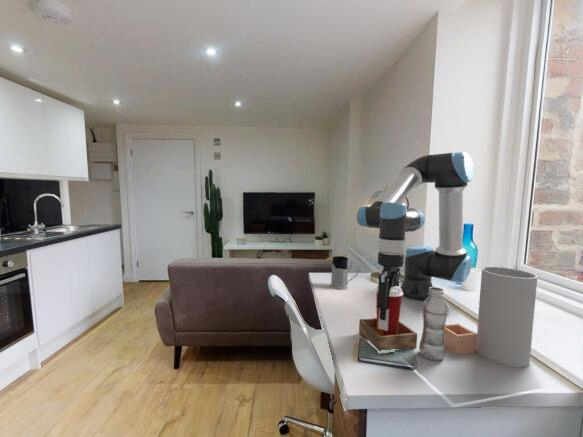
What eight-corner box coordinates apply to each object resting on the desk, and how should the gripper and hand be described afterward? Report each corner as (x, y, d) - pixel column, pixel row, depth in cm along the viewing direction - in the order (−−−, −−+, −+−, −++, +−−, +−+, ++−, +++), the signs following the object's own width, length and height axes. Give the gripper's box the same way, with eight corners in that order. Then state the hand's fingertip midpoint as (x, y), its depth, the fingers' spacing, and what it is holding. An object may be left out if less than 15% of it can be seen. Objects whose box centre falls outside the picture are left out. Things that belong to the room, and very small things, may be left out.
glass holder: (330, 283, 148) (331, 255, 147) (358, 285, 146) (359, 257, 145) (330, 289, 139) (331, 259, 138) (359, 291, 138) (361, 260, 136)
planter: (456, 341, 90) (458, 323, 90) (475, 353, 83) (477, 334, 83) (438, 343, 88) (439, 325, 88) (456, 356, 82) (457, 336, 81)
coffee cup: (404, 334, 89) (407, 287, 88) (394, 343, 83) (397, 293, 82) (379, 325, 95) (381, 281, 94) (368, 334, 89) (370, 287, 88)
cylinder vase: (533, 375, 74) (542, 281, 72) (476, 359, 80) (482, 273, 78) (525, 353, 84) (532, 271, 82) (475, 341, 91) (481, 264, 89)
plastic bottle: (414, 351, 83) (418, 285, 82) (436, 351, 84) (440, 285, 83) (426, 364, 77) (431, 293, 76) (450, 364, 78) (455, 293, 76)
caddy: (392, 330, 97) (392, 316, 96) (416, 349, 85) (417, 333, 84) (358, 334, 94) (359, 319, 93) (379, 354, 82) (380, 337, 81)
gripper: (388, 246, 97) (385, 311, 99) (367, 255, 81) (363, 332, 83) (411, 249, 93) (407, 317, 95) (393, 259, 77) (389, 341, 78)
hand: (387, 324), depth 89 cm, fingers closed on coffee cup, 7 cm apart
